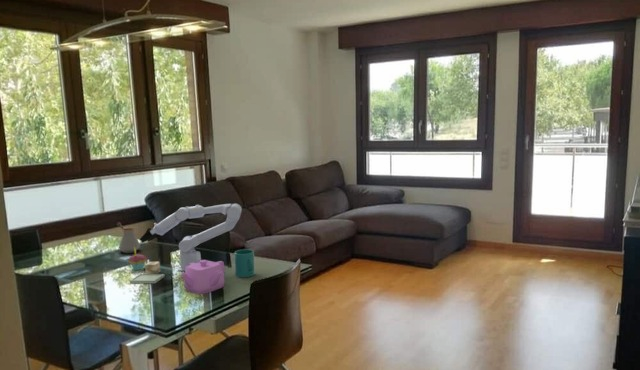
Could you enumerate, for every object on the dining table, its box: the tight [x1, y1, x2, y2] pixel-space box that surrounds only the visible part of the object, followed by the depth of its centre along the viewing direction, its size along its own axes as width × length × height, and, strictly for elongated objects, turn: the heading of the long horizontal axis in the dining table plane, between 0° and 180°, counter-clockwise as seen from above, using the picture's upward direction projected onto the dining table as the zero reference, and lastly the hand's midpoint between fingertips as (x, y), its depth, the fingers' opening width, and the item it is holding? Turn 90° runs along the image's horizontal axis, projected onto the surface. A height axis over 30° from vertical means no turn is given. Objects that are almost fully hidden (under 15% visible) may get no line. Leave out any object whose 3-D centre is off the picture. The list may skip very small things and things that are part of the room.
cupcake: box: [128, 247, 148, 271], centre depth 235 cm, size 9×8×12 cm
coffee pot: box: [117, 221, 141, 254], centre depth 273 cm, size 21×12×15 cm, turn 42°
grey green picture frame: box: [129, 273, 166, 284], centre depth 218 cm, size 12×10×1 cm
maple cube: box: [144, 261, 161, 274], centre depth 228 cm, size 5×5×5 cm
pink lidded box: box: [180, 259, 226, 296], centre depth 204 cm, size 17×17×12 cm
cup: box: [233, 248, 256, 279], centre depth 220 cm, size 9×12×11 cm
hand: (144, 240), depth 230 cm, fingers open, 7 cm apart
